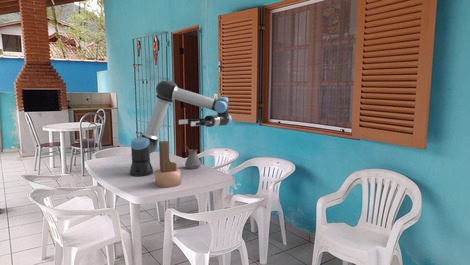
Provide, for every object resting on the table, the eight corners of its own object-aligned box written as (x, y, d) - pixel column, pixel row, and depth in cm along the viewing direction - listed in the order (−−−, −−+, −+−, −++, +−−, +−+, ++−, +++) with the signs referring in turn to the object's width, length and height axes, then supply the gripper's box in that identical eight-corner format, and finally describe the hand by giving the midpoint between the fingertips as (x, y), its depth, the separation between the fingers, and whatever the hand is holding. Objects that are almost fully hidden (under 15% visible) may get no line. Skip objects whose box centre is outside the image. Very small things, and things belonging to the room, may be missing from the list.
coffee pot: (203, 168, 241) (203, 147, 239) (188, 170, 235) (188, 149, 233) (192, 162, 259) (191, 143, 257) (177, 164, 254) (177, 144, 252)
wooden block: (173, 169, 206) (173, 139, 204) (176, 170, 202) (176, 140, 200) (159, 171, 201) (158, 141, 199) (162, 172, 198) (161, 142, 195)
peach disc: (150, 183, 204) (150, 170, 203) (172, 178, 214) (171, 166, 213) (163, 189, 193) (163, 175, 192) (185, 184, 203) (185, 171, 202)
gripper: (223, 128, 218) (196, 131, 204) (200, 124, 236) (174, 127, 222) (223, 116, 217) (196, 118, 203) (200, 114, 235) (174, 115, 221)
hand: (184, 123), depth 213 cm, fingers open, 13 cm apart
